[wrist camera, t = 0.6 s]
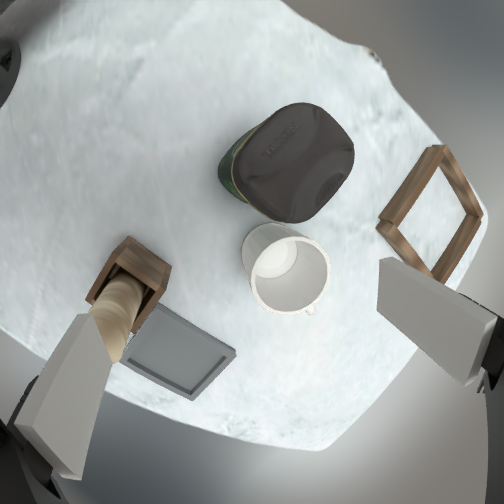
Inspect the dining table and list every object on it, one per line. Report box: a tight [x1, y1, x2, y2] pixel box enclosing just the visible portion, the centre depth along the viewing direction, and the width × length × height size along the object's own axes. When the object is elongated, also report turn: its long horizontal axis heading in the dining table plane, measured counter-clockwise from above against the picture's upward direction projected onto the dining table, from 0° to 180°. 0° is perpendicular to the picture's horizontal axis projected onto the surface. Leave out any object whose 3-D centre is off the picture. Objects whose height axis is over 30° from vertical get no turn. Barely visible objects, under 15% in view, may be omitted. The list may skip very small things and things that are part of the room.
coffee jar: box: [218, 103, 355, 224], centre depth 28 cm, size 10×8×19 cm
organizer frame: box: [376, 145, 483, 285], centre depth 42 cm, size 19×19×4 cm
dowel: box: [88, 267, 148, 364], centre depth 29 cm, size 4×4×17 cm
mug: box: [241, 223, 331, 315], centre depth 36 cm, size 11×9×10 cm
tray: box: [119, 302, 236, 401], centre depth 41 cm, size 14×12×2 cm
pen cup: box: [85, 236, 172, 334], centre depth 34 cm, size 7×7×8 cm
